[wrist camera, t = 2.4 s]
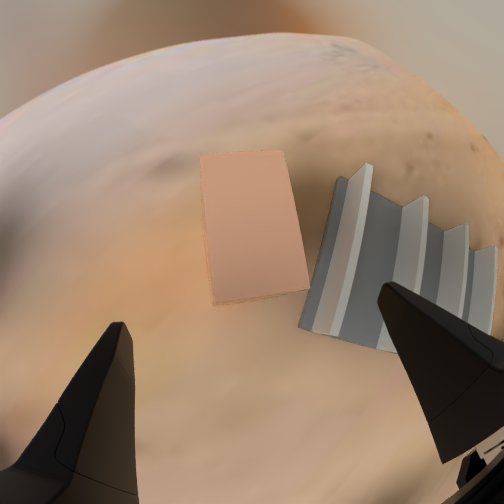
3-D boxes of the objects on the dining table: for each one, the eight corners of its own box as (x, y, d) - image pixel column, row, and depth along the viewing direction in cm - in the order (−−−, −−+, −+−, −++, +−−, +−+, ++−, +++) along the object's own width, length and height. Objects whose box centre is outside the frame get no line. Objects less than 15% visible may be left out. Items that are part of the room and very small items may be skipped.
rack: (460, 367, 20) (486, 370, 16) (297, 327, 18) (317, 330, 15) (477, 256, 23) (500, 250, 19) (336, 179, 21) (356, 157, 18)
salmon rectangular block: (257, 300, 18) (310, 288, 9) (212, 306, 18) (215, 302, 8) (246, 228, 19) (283, 150, 10) (203, 232, 19) (199, 154, 9)
